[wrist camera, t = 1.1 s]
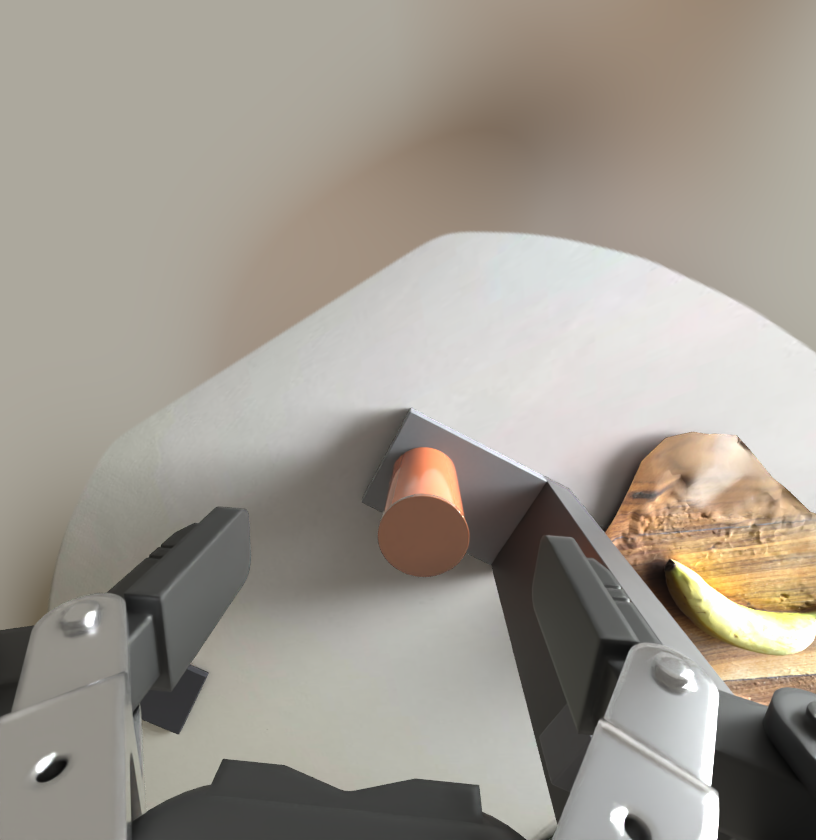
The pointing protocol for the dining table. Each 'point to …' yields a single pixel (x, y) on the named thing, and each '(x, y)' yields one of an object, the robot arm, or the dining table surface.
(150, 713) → the mat
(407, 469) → the canister
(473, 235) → the dining table surface
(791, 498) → the cutting board
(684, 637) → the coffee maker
